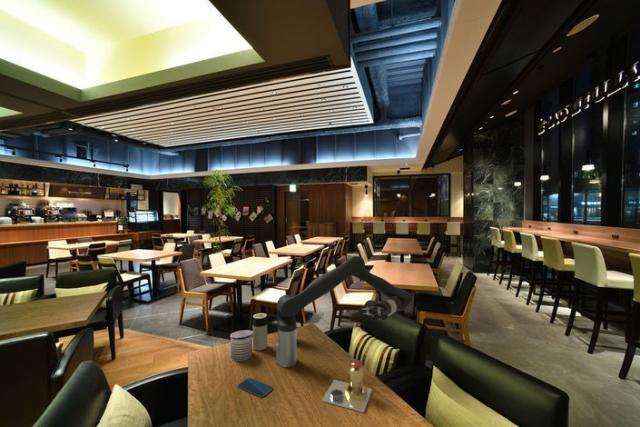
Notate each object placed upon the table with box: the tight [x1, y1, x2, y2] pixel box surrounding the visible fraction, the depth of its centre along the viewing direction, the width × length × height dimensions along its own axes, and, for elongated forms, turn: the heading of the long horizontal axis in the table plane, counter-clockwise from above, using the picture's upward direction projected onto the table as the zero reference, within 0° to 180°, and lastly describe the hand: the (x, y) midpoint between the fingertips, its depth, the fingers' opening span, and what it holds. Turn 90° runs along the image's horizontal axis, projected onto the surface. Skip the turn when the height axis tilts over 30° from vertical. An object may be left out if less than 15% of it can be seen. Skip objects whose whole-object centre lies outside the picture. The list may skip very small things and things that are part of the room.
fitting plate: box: [321, 379, 373, 414], centre depth 113 cm, size 17×14×2 cm
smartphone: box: [236, 377, 274, 399], centre depth 118 cm, size 8×15×1 cm, turn 59°
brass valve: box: [349, 359, 364, 395], centre depth 114 cm, size 5×5×12 cm
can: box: [229, 329, 253, 362], centre depth 146 cm, size 11×11×12 cm
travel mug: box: [252, 312, 268, 352], centre depth 154 cm, size 8×8×18 cm
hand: (365, 316), depth 126 cm, fingers open, 8 cm apart
